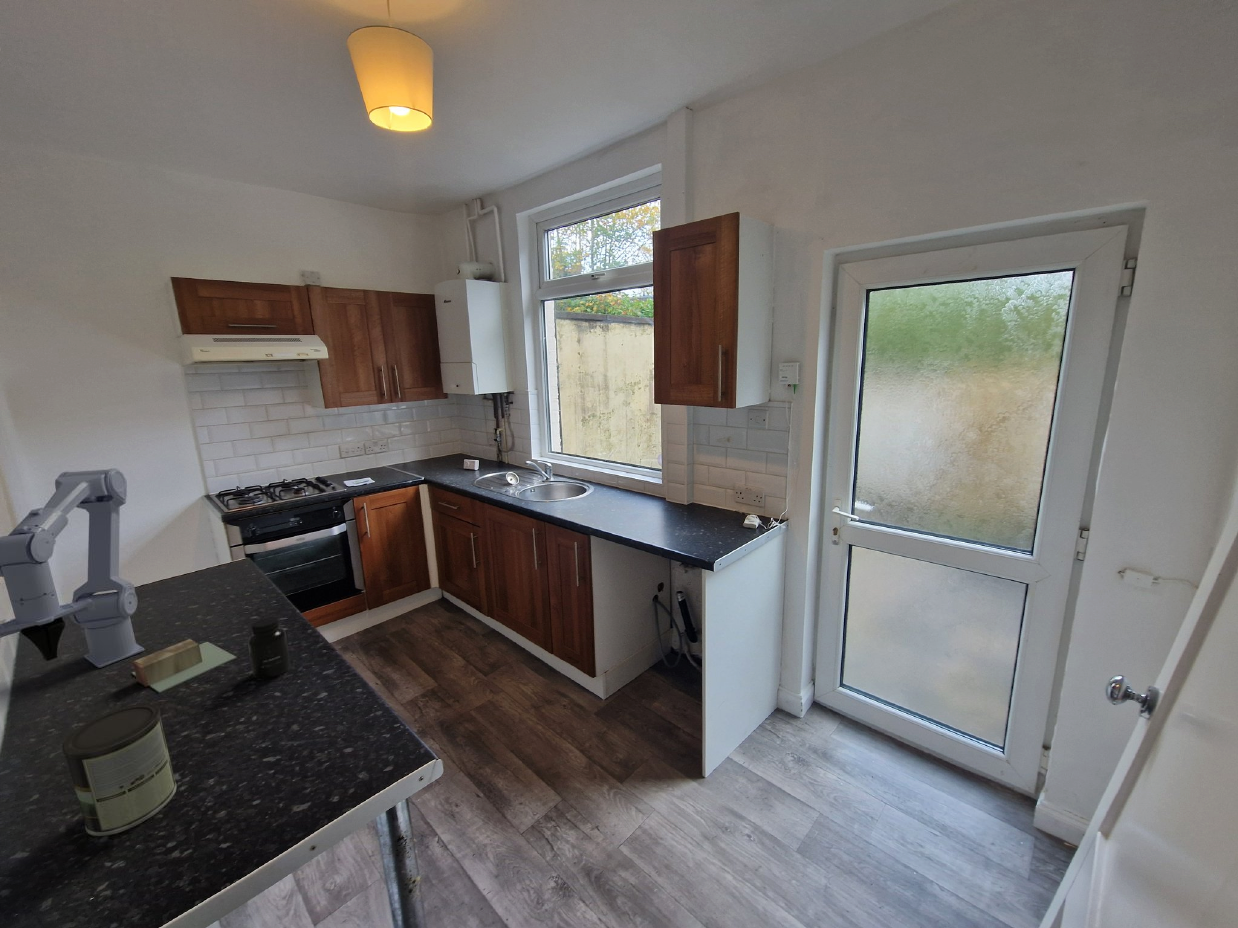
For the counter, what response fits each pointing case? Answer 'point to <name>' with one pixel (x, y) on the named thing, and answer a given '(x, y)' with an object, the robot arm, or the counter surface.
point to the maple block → (167, 662)
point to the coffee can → (120, 768)
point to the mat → (196, 667)
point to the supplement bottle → (268, 649)
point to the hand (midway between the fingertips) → (50, 657)
